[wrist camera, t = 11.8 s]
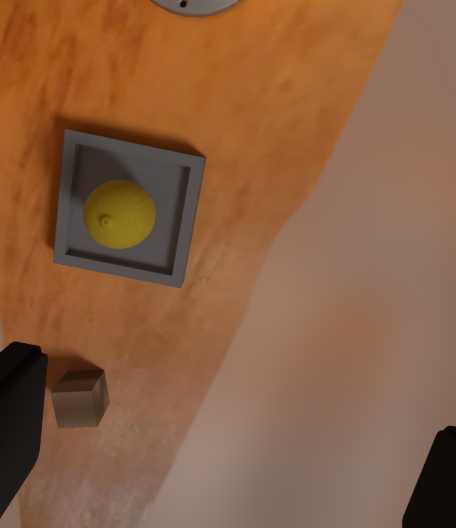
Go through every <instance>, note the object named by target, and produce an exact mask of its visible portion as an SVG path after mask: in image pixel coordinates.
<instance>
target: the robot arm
mask: <svg viewBox="0 0 456 528" xmlns="http://www.w3.org/2000/svg"><path fill="white" fill-rule="evenodd" d="M151 1H152V2H154V3H155V4H156V5H158V6H159V7H161V8H163V9H165V10H167V11H169V12H171V13H174V14H177V15H181V16H185V17H199V18H201V17H207V16H213V15H217V14H219V13H222V12H224V11H227V10H229V9H231V8H232V7H234V6H235V5H237V4H238V3H240V2H241V1H242V0H151ZM182 2H185V3H186V4H187V5H186V7H184V8H182V7H181V3H182ZM47 364H48V356H47V354H44V353H41V348H40V346H36V345H31V344H26V343H21V342H12V343H11V344H9V345H8V346H7V347H6V348H5V349H4V350H2V351H1V352H0V518H1V516H2V515H3V513H4V512H5V510H6V509H7V507H8V506H9V504H10V502H11V501H12V499H13V498H14V496H15V495H16V493H17V492H18V490H19V489H20V487H21V485H22V484H23V482H24V481H25V479H26V478H27V476H28V475H29V473H30V472H31V470H32V468H33V467H34V465H35V463H36V461H37V458H38V455H39V451H40V442H41V430H42V419H43V408H44V397H45V386H46V375H47ZM402 528H456V427H455V426H447V427H446V428H445V429H444V430H441V431H439V432H438V433H437V435H436V437H435V439H434V442H433V444H432V447H431V449H430V452H429V454H428V457H427V459H426V461H425V464H424V466H423V469H422V472H421V474H420V476H419V479H418V481H417V484H416V486H415V489H414V491H413V494H412V496H411V499H410V501H409V503H408V506H407V509H406V511H405V513H404V516H403V520H402Z"/></svg>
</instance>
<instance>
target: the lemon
mask: <svg viewBox="0 0 456 528" xmlns="http://www.w3.org/2000/svg"><path fill="white" fill-rule="evenodd" d="M155 218H156V210H155V204H154V202H153V200H152V198H151V196H150V195H149V193H148V192H147V191H146V190H145V189H144V188H143V187H141V186H140V185H138V184H136V183H134V182H132V181H127V180H112V181H109V182H106V183H103V184H101V185H100V186H99V187H97V188H96V189H94V190H93V192H92V193H91V194H90V195H89V196H88V198H87V200H86V203H85V205H84V210H83V221H84V224H85V227H86V230H87V231H88V233H89V235H90V236H91V237H92V238H93V239H94V240H95V241H96V242H98V243H99V244H101V245H103V246H105V247H109V248H112V249H124V248H129V247H133V246H135V245H137V244H139V243H141V242H142V241H143V240H144V239H145V238H147V236H148V235H149V234H150V232H151V231H152V229H153V226H154V223H155Z"/></svg>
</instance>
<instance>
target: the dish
mask: <svg viewBox="0 0 456 528" xmlns="http://www.w3.org/2000/svg"><path fill="white" fill-rule="evenodd" d="M205 162H206V157H202V156H198V155H193V154H188V153H183V152H178V151H174V150H169V149H164V148H159V147H154V146H150V145H145V144H140V143H135V142H130V141H126V140H121V139H116V138H111V137H107V136H102V135H97V134H92V133H87V132H83V131H78V130H71V129H65V133H64V145H63V156H62V167H61V179H60V190H59V202H58V213H57V225H56V236H55V247H54V259H53V263H57V264H62V265H67V266H72V267H77V268H82V269H87V270H92V271H97V272H102V273H107V274H112V275H117V276H122V277H127V278H132V279H137V280H142V281H147V282H152V283H157V284H162V285H168V286H173V287H178V288H181V287H182V284H183V282H184V277H185V272H186V266H187V261H188V255H189V250H190V244H191V239H192V233H193V228H194V222H195V217H196V211H197V206H198V200H199V195H200V189H201V184H202V178H203V173H204V167H205ZM112 180H127V181H132V182H134V183H136V184H138V185H140V186H141V187H143V188H144V189H145V190H146V191H147V192H148V193H149V195H150V196H151V198H152V200H153V202H154V204H155V210H156V218H155V223H154V226H153V229H152V231H151V232H150V234H149V235H148V236H147V238H145V239H144V240H143V241H142V242H141V243H139V244H137V245H135V246H133V247H129V248H124V249H112V248H109V247H105V246H103V245H101V244H99V243H98V242H96V241H95V240H94V239H93V238H92V237H91V236H90V235H89V233H88V231H87V230H86V227H85V224H84V221H83V210H84V205H85V203H86V200H87V198H88V196H89V195H90V194H91V193H92V192H93V190H94V189H96V188H97V187H99V186H100V185H101V184H103V183H106V182H109V181H112Z"/></svg>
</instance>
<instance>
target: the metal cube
mask: <svg viewBox="0 0 456 528" xmlns="http://www.w3.org/2000/svg"><path fill="white" fill-rule="evenodd" d="M51 396H52V401H53V406H54V411H55V416H56V420H57V425H58V428H75V427H98V425H99V423H100V421H101V419H102V417H103V415H104V413H105V411H106V409H107V407H108V405H109V403H110V402H109V396H108V390H107V384H106V378H105V372H104V370H96V371H74V372H66V374H65V375H64V376H63V378H62V379H61V380H60V382H59V383H58V384H57V385H56V387H55V388H54V389H53V391H52V392H51Z"/></svg>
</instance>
